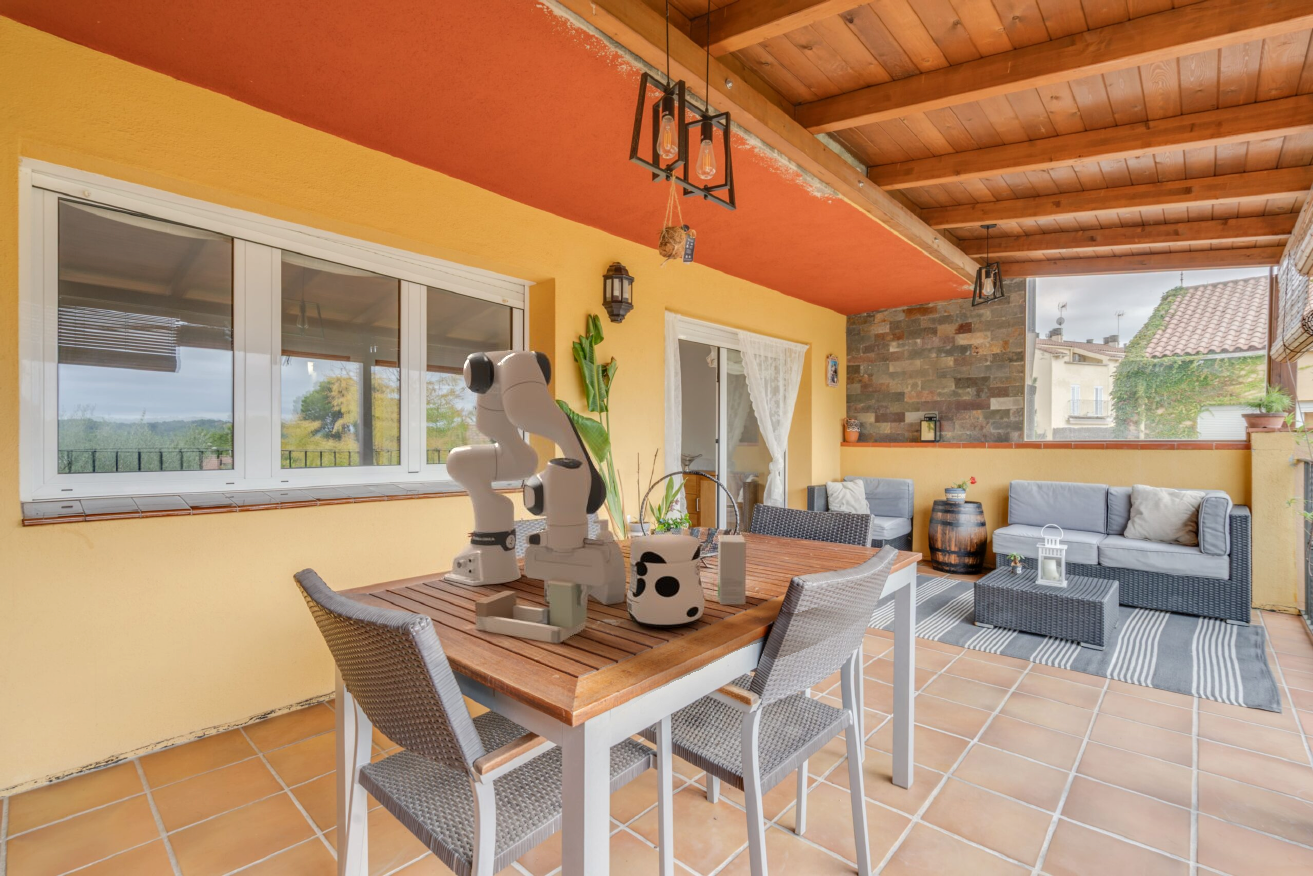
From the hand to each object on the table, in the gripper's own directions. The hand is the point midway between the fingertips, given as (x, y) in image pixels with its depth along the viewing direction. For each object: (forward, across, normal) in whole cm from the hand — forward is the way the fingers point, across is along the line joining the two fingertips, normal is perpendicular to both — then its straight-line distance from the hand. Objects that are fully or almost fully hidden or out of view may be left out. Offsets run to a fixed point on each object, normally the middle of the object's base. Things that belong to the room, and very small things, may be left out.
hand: (568, 602), depth 128 cm
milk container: (+7, -14, -17) cm, 23 cm away
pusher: (+6, +5, 0) cm, 8 cm away
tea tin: (+4, 0, 0) cm, 4 cm away
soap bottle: (+7, +8, -27) cm, 29 cm away
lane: (+7, +10, 0) cm, 12 cm away
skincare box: (+7, -23, -38) cm, 44 cm away
